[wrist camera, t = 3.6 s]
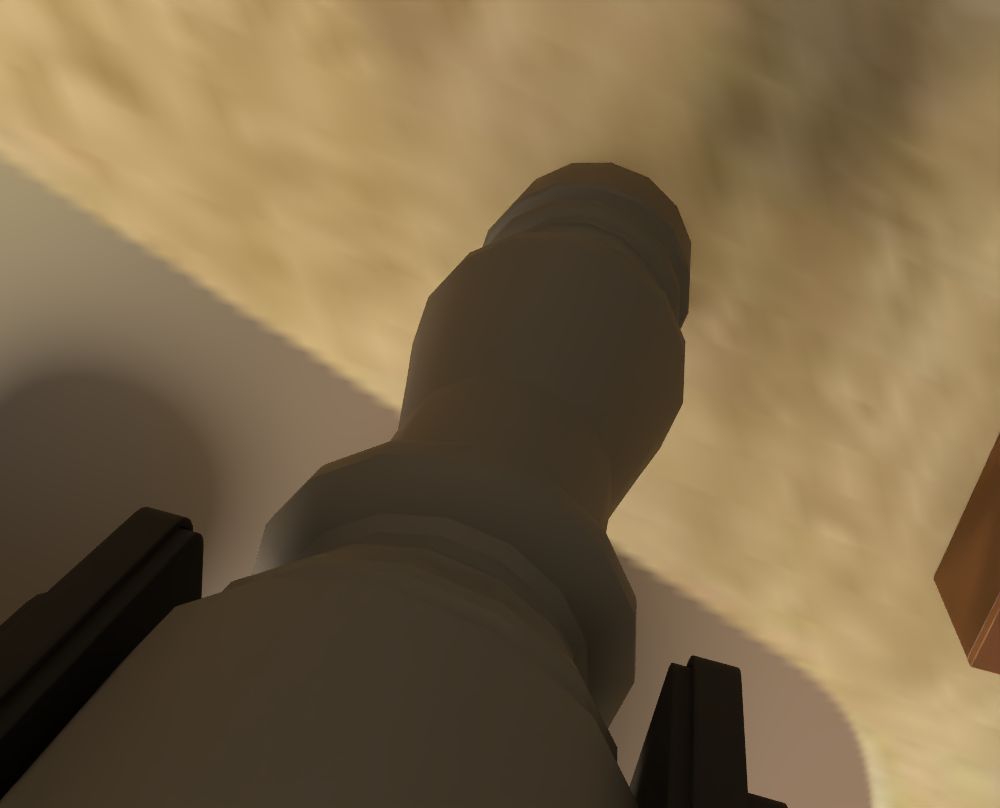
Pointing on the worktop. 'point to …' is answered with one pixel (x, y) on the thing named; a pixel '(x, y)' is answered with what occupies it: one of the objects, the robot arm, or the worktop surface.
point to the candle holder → (434, 558)
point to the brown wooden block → (976, 572)
